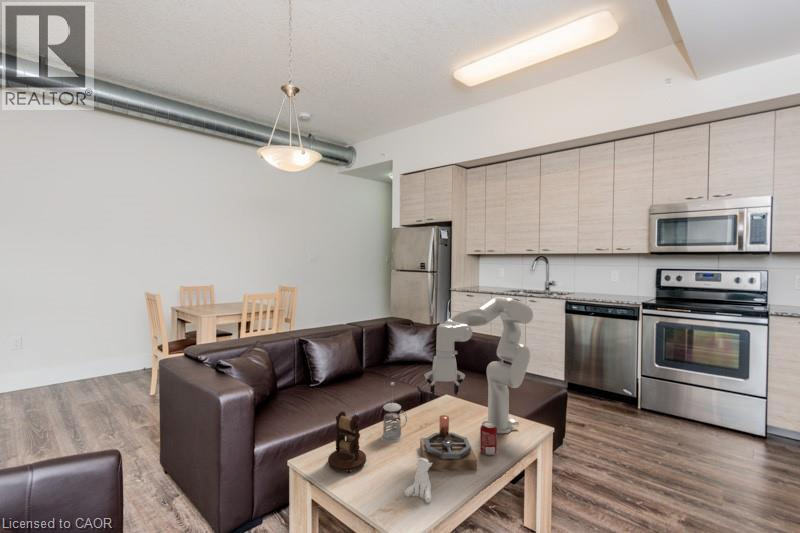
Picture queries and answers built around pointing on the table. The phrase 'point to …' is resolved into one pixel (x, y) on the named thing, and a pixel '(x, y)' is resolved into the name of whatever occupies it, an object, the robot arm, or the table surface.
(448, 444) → the handwheel
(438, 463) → the block
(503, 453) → the table surface
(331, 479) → the table surface
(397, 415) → the french press
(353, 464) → the scroll
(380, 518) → the table surface
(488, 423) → the soda can
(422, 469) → the sitting furry creature
